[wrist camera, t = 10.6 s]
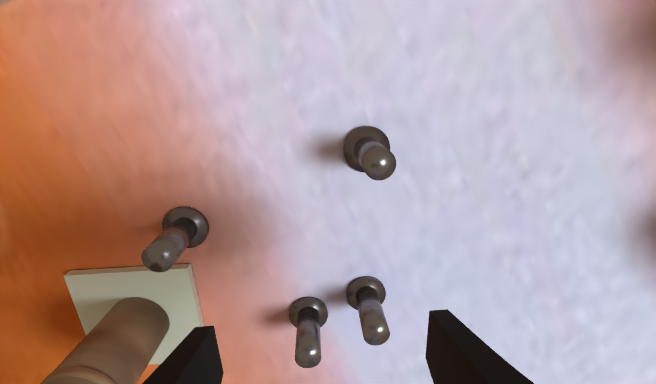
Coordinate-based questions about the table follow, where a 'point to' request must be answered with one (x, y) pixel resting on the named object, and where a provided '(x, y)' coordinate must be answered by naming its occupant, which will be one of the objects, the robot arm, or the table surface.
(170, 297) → the pad
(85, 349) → the walnut peg
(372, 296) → the slalom posts
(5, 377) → the table surface
